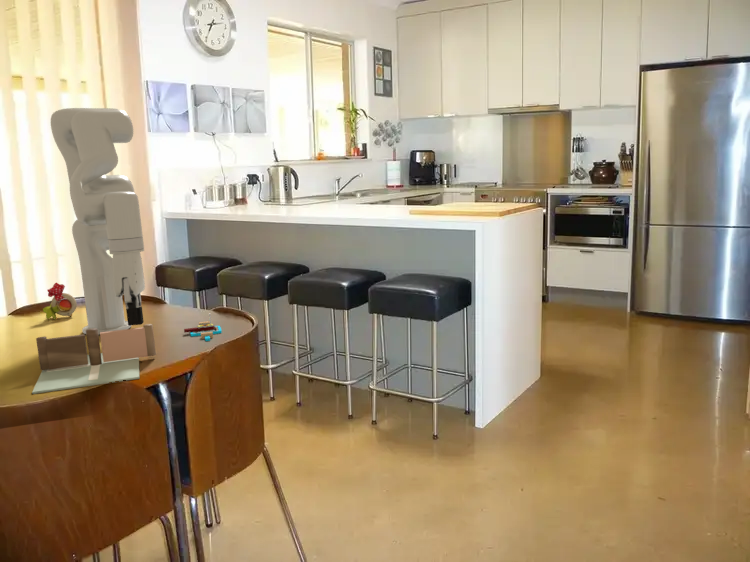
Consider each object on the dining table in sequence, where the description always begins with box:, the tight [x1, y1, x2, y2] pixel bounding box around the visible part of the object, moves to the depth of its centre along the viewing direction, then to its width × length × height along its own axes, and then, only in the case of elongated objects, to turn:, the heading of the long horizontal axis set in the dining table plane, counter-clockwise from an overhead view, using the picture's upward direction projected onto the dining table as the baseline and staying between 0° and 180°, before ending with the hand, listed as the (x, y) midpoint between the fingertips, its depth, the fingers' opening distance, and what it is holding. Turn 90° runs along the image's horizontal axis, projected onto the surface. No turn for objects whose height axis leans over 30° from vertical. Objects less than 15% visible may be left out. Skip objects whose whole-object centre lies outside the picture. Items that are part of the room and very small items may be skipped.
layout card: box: [31, 352, 140, 395], centre depth 146 cm, size 25×20×1 cm
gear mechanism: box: [183, 312, 223, 342], centre depth 175 cm, size 20×5×9 cm
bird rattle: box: [42, 282, 78, 320], centre depth 204 cm, size 6×11×9 cm
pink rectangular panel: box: [99, 323, 157, 362], centre depth 150 cm, size 2×11×7 cm, turn 110°
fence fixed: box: [35, 328, 102, 371], centre depth 147 cm, size 2×12×8 cm, turn 110°
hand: (136, 324), depth 156 cm, fingers closed
